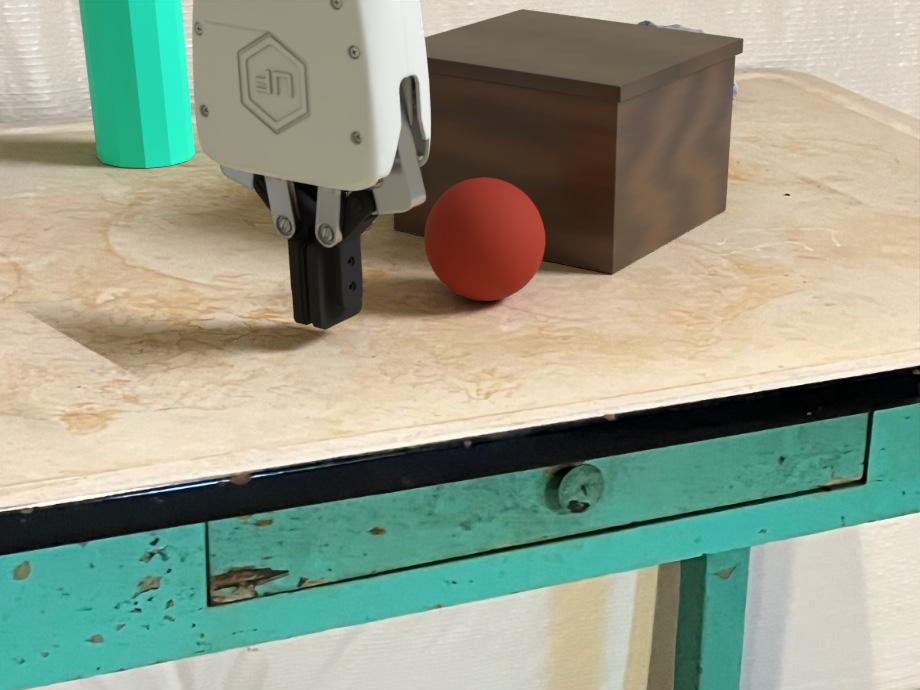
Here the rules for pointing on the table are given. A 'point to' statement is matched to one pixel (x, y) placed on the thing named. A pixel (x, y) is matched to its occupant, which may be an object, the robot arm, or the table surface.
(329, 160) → the robot arm
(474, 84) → the box
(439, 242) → the ball
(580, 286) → the table surface
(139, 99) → the candle
